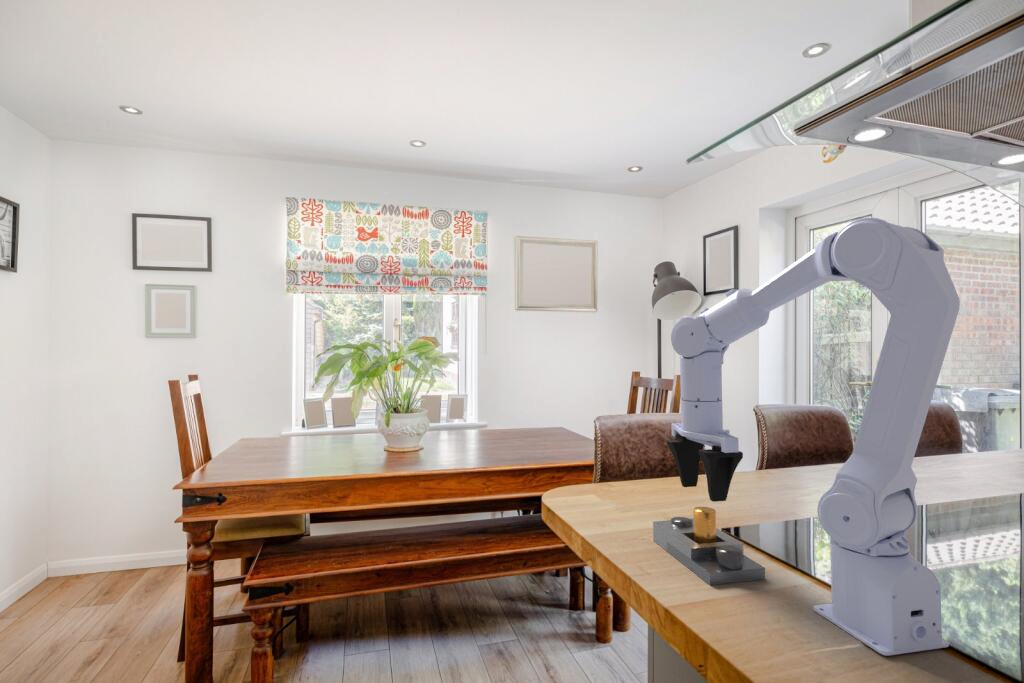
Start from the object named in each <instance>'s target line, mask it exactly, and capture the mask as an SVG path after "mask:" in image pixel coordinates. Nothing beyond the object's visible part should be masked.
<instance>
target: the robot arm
mask: <svg viewBox="0 0 1024 683" xmlns="http://www.w3.org/2000/svg"><path fill="white" fill-rule="evenodd" d="M944 255H945V252H944V248H943V247H942V246H941V245H939V244H938V243H937V242H936V241H934V239H932V238H931V237H930V236H928V235H927V234H926V232H923V230H920V229H918V228H914V227H910V226H901V225H899V224H894V223H890V222H888V221H886V220H884V219H881V218H877V217H862V218H859V219H856V220H854V221H851V222H849V223H847V224H846V225H845V226H844V227H842V228H841V230H840V231H835V232H833V233H830V234H828V235H827V236H824V237H823V239H822V240H821V241H820V242H819V243H818V244H817V245H816V246H815V247H814V248H813V249H812V250H810V251H809V252H807V253H806V254H804V255H802V257H800V258H798V259H797V260H796V261H794V262H793V263H791V264H790V265H789V266H787V267H786V268H785V269H783V270H782V271H780V272H778V273H777V274H776V275H774V276H773V277H771V278H770V279H768V280H767V281H766V282H764V283H763V284H762V285H760V286H759V287H757V288H756V289H754V290H752V289H749V288H740V289H730V290H729V291H727V292H725V296H726V297H725V298H724V299H722V300H721V301H719V302H717V303H715V305H713V306H711V307H710V308H708V307H707V308H706V307H705V308H703V309H702V310H700V312H699V313H700V314H699V315H698V316H697V317H693V316H684V317H681V318H680V320H678V321H677V322H676V323H675V325H674V326H673V328H672V331H671V333H670V335H671V336H670V342H671V346H672V348H673V350H674V351H675V353H677V355H679V368H680V369H679V372H680V374H679V378H680V384H679V385H680V419H681V420H680V422H677V423H676V422H675V423H671V426H670V427H671V436H673V437H674V439H667V440H666V445H667V447H668V449H669V450H670V452H671V454H672V456H673V459H674V461H675V465H676V468H677V472H678V476H679V480H680V483H681V487H683V488H694V487H697V486H698V481H699V470H700V469H699V468H700V461H702V464H703V467H704V471H705V476H706V484H707V491H708V497H709V500H710V501H711V502H726V501H727V498H728V494H729V490H730V486H731V483H732V479H733V476H734V474H735V473H736V472H735V471H736V470H737V468H738V466H739V464H740V462H741V461H742V459H743V458H744V453H743V452H742V451H741V450H740V449H739V446H740V445H739V437H738V436H737V437H736V436H734V435H731V434H730V429H728V428H724V425H723V424H724V422H723V420H724V419H723V418H724V416H723V383H722V381H723V377H722V374H723V373H722V370H723V368H722V366H723V365H724V356H725V354H726V352H727V350H728V349H729V346H730V345H731V344H732V343H735V342H736V341H738V340H740V339H741V338H743V337H745V336H747V335H749V334H751V333H753V332H755V331H757V330H758V329H760V328H762V327H763V326H765V325H766V324H767V323H768V320H769V318H770V313H771V311H773V310H775V309H777V308H779V307H782V306H783V305H785V304H787V303H789V302H791V301H794V300H795V299H797V298H799V297H802V296H803V295H805V294H807V293H809V292H811V291H813V290H815V289H817V288H819V287H821V286H823V285H824V284H826V283H829V282H848V281H849V282H850V281H853V282H855V283H858V284H859V285H861V286H863V287H864V288H866V289H868V290H869V291H870V292H871V293H872V294H873V295H874V296H875V298H876V299H877V300H878V301H879V302H880V303H881V305H883V307H884V308H885V309H886V310H887V311H888V312H889V314H890V317H889V321H888V324H887V329H886V332H885V336H884V339H883V342H882V346H881V350H880V353H879V358H878V361H877V364H876V368H875V370H874V376H873V378H872V382H871V385H870V390H869V392H868V397H867V400H866V404H865V407H864V411H863V414H862V417H861V418H862V419H861V422H860V425H859V429H858V432H857V436H856V439H855V442H854V446H853V450H852V453H851V454H850V456H849V458H847V459H846V461H845V462H844V464H842V465H841V467H840V468H839V470H838V471H837V472H836V475H835V479H834V481H833V484H832V486H831V487H830V488H829V489H828V490H827V491H825V492H824V494H822V496H821V497H820V498H819V501H818V503H817V510H816V511H817V517H818V521H819V523H820V525H821V527H822V529H823V531H825V533H826V534H827V535H828V536H829V543H830V544H829V547H830V585H831V586H830V589H831V591H830V592H831V595H830V596H831V603H825V604H817V605H813V606H812V609H813V612H814V613H815V612H816V613H817V614H819V615H820V616H822V617H823V618H824V619H826V620H827V621H829V622H830V623H832V624H834V625H836V626H837V627H839V628H840V629H842V630H843V631H844V632H846V633H848V634H849V635H851V636H852V637H854V638H856V640H858V641H860V642H861V643H863V644H864V645H866V646H868V647H870V648H871V649H873V650H874V651H875V652H876V653H879V654H880V655H882V656H886V657H887V656H896V655H903V654H909V653H910V654H911V653H916V652H922V651H930V650H937V649H942V648H943V649H944V648H948V647H950V645H949V641H948V640H946V639H944V638H943V634H942V630H943V629H942V600H941V599H942V595H941V585H940V582H939V579H938V578H937V576H936V574H935V572H933V571H932V569H930V568H929V567H928V566H926V565H923V564H922V563H921V562H919V561H918V560H917V559H916V558H915V557H914V556H913V554H912V553H911V551H910V544H909V540H908V537H907V532H906V531H908V530H910V529H911V528H912V527H913V526H914V525H915V523H916V522H917V518H918V514H919V511H918V510H919V509H918V505H917V504H918V503H917V502H916V499H915V498H916V496H915V488H916V485H917V482H918V478H917V476H916V474H915V472H914V471H913V468H912V465H913V461H914V458H915V454H916V452H917V449H918V445H919V442H920V439H921V435H922V432H923V429H924V425H925V422H926V419H927V416H928V412H929V409H930V406H931V402H932V400H933V396H934V393H935V389H936V386H937V382H938V381H939V380H938V379H939V377H940V373H941V372H942V371H941V370H942V367H943V364H944V360H945V357H946V354H947V350H948V348H949V344H950V341H951V337H952V334H953V332H954V328H955V324H956V322H957V318H958V315H959V312H960V304H961V299H960V297H959V295H958V292H957V290H956V287H955V285H954V283H953V280H952V277H951V276H950V272H949V270H948V268H947V266H946V263H945V261H944V258H945V257H944ZM705 445H706V446H708V447H711V449H707V448H706V449H704V447H705ZM739 450H740V451H739ZM700 459H701V460H700Z"/></svg>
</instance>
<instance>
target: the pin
mask: <svg viewBox="0 0 1024 683" xmlns="http://www.w3.org/2000/svg"><path fill="white" fill-rule="evenodd" d="M716 512H717V511H716V509H714V508H712V507H709V506H695V507H694V508H693V518H694V542H696V543H697V544H705V543H716V528H717V526H716V525H717V520H716V519H717V517H716V516H717V513H716Z"/></svg>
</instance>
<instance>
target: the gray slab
mask: <svg viewBox="0 0 1024 683" xmlns="http://www.w3.org/2000/svg"><path fill="white" fill-rule="evenodd" d="M652 532H653V534H652V535H653V536H652V537H653V540H652V541H653V542H655V543H656V544H657V545H658V546H660V547H661V548H662V549H663V550H665V551H666V552H667V553H669V554H670V555H671V556H672V557H673V558H674V559H676V560H677V561H678V562H680V563H681V564H682V565H683V566H685V567H686V568H687V569H689V570H690V571H691V572H692V573H694V574H696V576H698V577H699V578H700V579H702V580H703V581H704V582H705V583H707V584H708V585H709V586H716V585H725V584H731V583H732V584H735V583H742V582H743V583H744V582H750V581H751V582H752V581H761V580H762V581H763V580H766V568H765V566H763V565H761V564H760V563H758V562H756V561H754V560H753V559H751V558H750V557H748V556H747V555H745V554H744V543H743V542H741V541H739V540H737V539H736V538H734V537H733V536H730V535H729V534H727V533H726V532H724V531H722V530H720V529H719V528H717V527H716V543H705V544H697V543H696V542H694V517H693V518H689V517H684V516H675V517H672V518H670V520H667V519H666V520H656V521H655V520H654V521H652Z"/></svg>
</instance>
